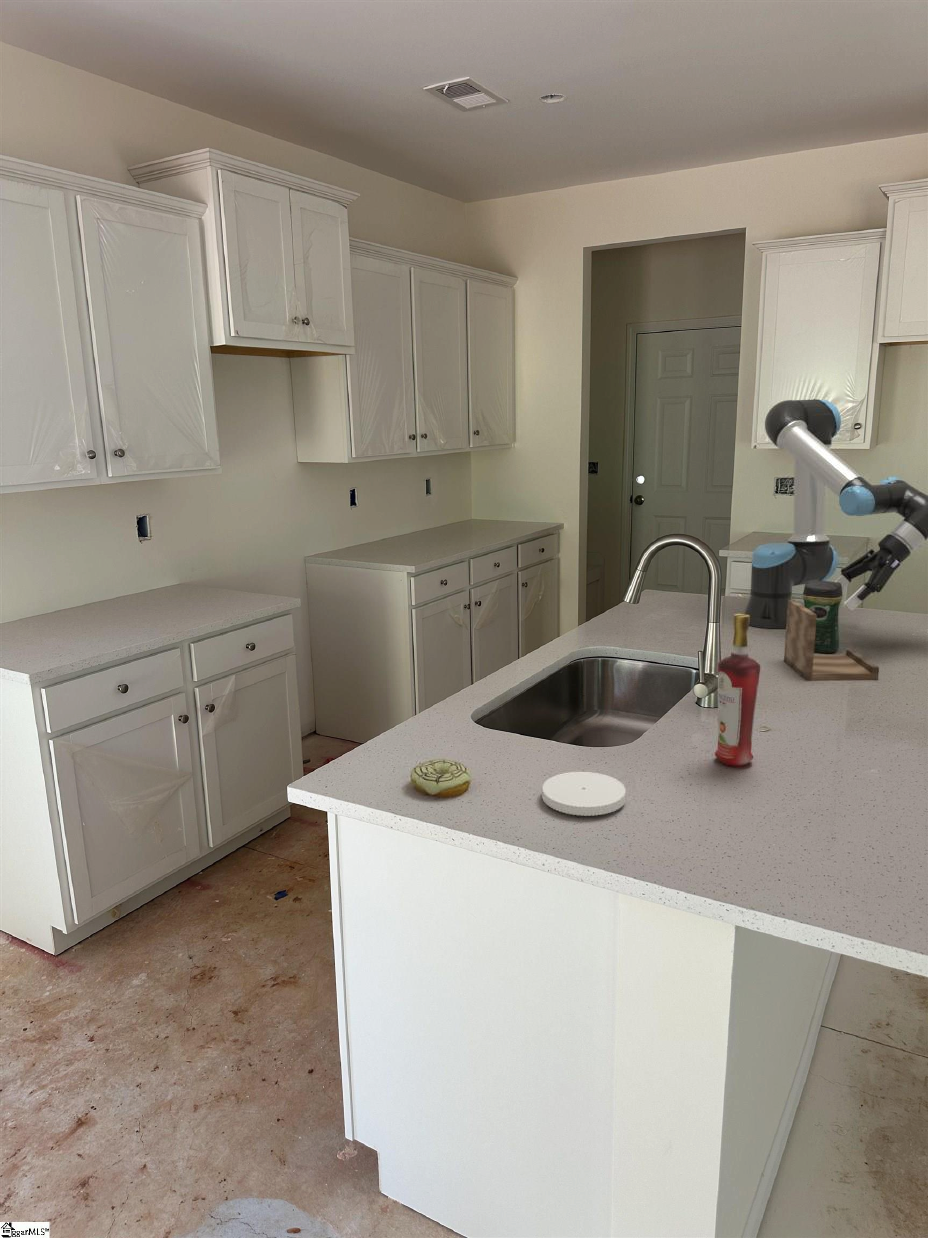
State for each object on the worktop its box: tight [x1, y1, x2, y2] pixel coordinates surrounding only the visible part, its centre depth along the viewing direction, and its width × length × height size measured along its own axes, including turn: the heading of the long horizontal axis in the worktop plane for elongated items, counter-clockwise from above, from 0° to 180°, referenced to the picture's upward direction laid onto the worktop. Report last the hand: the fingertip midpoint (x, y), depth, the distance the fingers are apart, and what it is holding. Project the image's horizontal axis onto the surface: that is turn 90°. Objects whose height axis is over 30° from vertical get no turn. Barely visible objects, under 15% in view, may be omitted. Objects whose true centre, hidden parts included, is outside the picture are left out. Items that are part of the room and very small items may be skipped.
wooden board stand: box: [783, 599, 880, 681], centre depth 214 cm, size 16×17×16 cm
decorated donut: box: [410, 758, 472, 798], centre depth 155 cm, size 10×11×4 cm
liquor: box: [714, 613, 761, 768], centre depth 159 cm, size 7×7×28 cm
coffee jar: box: [802, 580, 844, 653], centre depth 231 cm, size 10×8×19 cm
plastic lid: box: [541, 771, 627, 817], centre depth 148 cm, size 14×14×2 cm
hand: (837, 601), depth 229 cm, fingers open, 13 cm apart
